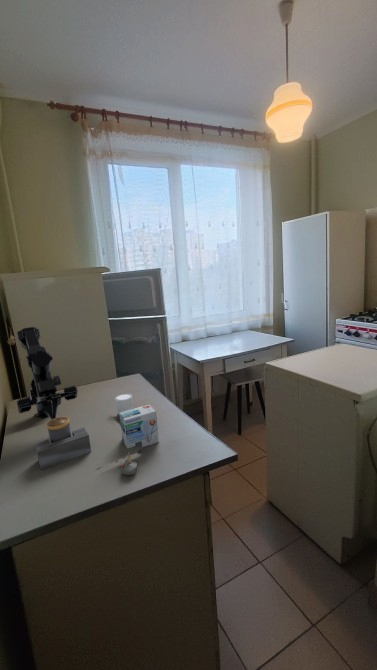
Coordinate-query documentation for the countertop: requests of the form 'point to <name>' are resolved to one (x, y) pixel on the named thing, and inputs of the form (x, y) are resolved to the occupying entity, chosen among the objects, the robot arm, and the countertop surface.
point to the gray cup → (58, 429)
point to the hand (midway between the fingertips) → (54, 421)
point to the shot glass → (124, 402)
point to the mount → (63, 449)
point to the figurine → (128, 466)
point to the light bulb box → (139, 426)
